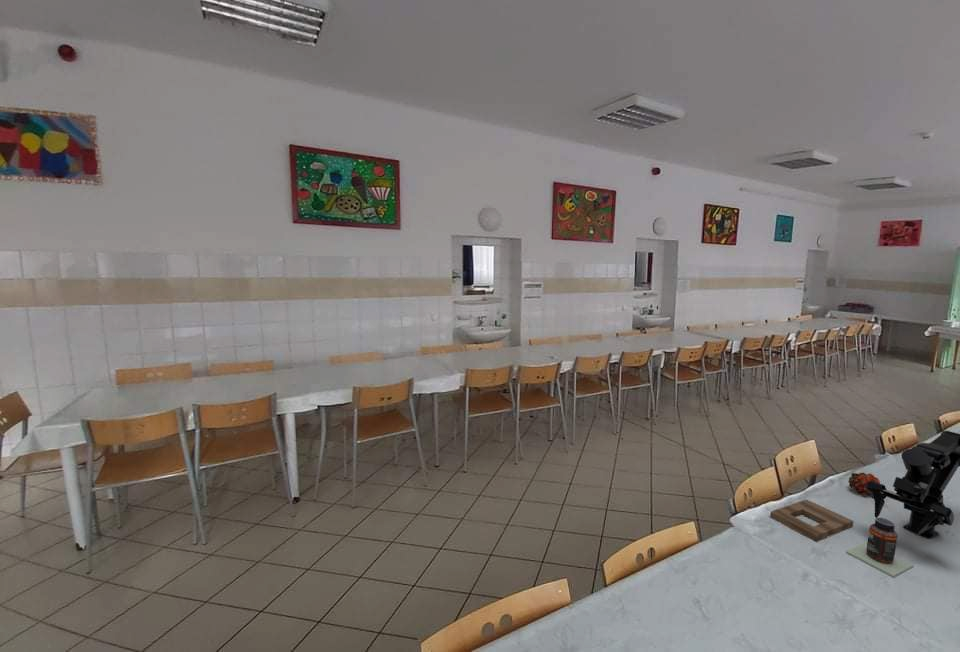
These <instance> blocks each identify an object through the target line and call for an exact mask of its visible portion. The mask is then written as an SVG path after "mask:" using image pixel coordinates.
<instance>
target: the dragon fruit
mask: <svg viewBox="0 0 960 652" xmlns="http://www.w3.org/2000/svg"><path fill="white" fill-rule="evenodd" d="M847 481H848V486H849V487H850V488H851V489H852V488H853V489H854V491H855V492H857V493H858V494H859V495H861V494H862V495H863V494H865V495H867V496H870V497H872V496H871V495H869V494H868V492H867V490H866V488H865V485H866V483H867V482H868V481H874V482H877V483H880V484H881V481H880V479H879V478H878V477H875V475H874V474H872V473H866V472H857V473H856V472H853V473H851V474H850V477H848V480H847Z"/></svg>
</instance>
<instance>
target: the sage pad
mask: <svg viewBox="0 0 960 652" xmlns="http://www.w3.org/2000/svg"><path fill="white" fill-rule="evenodd" d="M867 542H868V541H865V542H863V543H860V544H857V546H854V547H852V548H850V549H848V550H846V551H845V553H846V554H848V555H849V556H852V557H853V558H855V559H857V560H859V561H861V562H863V563H865V564H866V565H868V566H870V567H872V568H874V569H876V570H878V571H879V572H882V573H884V574H886V575H888V576H889V577H891V578H896V577H898V576H899V575H901V574H903V573H905V572H907V571H909V570H911V569H913V568H914V567H915V566H914V564H913V563H911V562H909V561H907V560H905V559H903V558H901V557H898V556H897V555H895V556H894V561H893V562H892V563H882V562H880V561H877V560H875V559H873V558H871V557H870V556H869V555H868V554H867V553H866V549H867Z"/></svg>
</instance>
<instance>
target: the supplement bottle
mask: <svg viewBox="0 0 960 652" xmlns="http://www.w3.org/2000/svg"><path fill="white" fill-rule="evenodd" d="M874 520H875V521H874V523H872V524H870V525H869V530H868V536H867V541H866V542H867V549H866V553H867V554H868V555H869V556H870V557H871V558H873V559H875V560H877V561H880V562H882V563H892V562H893V561H894V556H896V548H897V542H898V536H899V535H898V532H897V531H896V530H895V523H894V522H893V521H891V520H889V519H886V518H884V517H877V518H875V519H874Z"/></svg>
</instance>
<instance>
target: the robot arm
mask: <svg viewBox="0 0 960 652" xmlns="http://www.w3.org/2000/svg"><path fill="white" fill-rule="evenodd" d="M900 456H901V460H902V462H903V465H904V468H905V469H906V470H907V471H906V473H905V474H904V476H902V478H901V477H898V476H896V477H895V479H894V482H893V486H892V487H893V488H894V489H893V490H894V491H895V492H894V491H890V490H887V487H886V485H885V484H882V483H881V482H880V483H877V482H874V481H868V482H867V483H866V485H865V488H866V490H867V492H868V494H869V495H868V496H870V495H871V496H870V497H871V498H872V499H873V500H874V517H875V519H876V518H879V516H880V514H881V512H882V510H883V507H884V505H885V502H886V501H885V499H887V498H889V499H892V500H894V501H897V502H900V503H902V504H903V509H905V510H908V511H910V516H909V521H908V523H906V524H905V525H903V527H902V528H904V529H905V530H909V531H910V532H913V533H915V535H917V536H921V537H925V539H926V538H927V539H932V538H934V537H937V536H938V535H940V532H938V531H936V530H935V529H936V526H938V525H941V526H944V525H946V526H952V525H953V523H954V521H955V516H954V512H953V510H952V509H951V508H950V507H947V506H946V505H945V503H944V495H943V493H944V491H945V489H946V488H947V486H948V484H949V483H950V482H951V479H952V478H953V476H954V475H955V473H956V472H957V470H958V468H959V467H960V433H958V432H954V431H951V430H950V431H949V430H942V431H941V433H940V435H939V436H938V437H935V439H934V440H932V441H931V442H929V443H928V442H921V443H918V444H916V445H915V446H912V447H911V448H908V449H905V450H903V451H902V452H901V455H900Z"/></svg>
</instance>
